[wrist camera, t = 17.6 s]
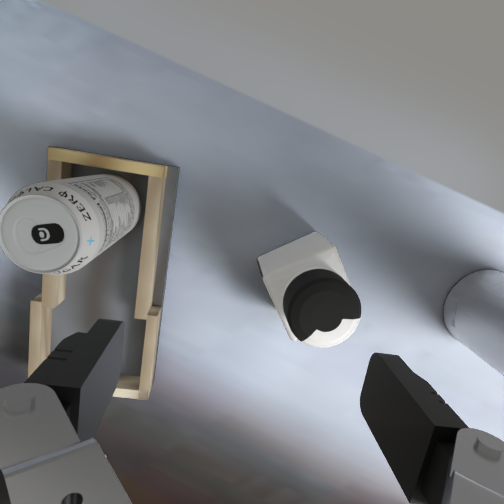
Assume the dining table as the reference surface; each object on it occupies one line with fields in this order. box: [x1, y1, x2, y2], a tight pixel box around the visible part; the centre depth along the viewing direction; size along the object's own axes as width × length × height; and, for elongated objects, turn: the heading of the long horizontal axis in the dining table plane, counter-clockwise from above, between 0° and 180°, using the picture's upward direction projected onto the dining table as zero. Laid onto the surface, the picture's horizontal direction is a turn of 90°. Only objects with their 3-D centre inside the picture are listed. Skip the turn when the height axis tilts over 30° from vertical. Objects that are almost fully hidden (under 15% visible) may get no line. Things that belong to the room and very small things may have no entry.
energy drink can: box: [0, 174, 142, 275], centre depth 30 cm, size 6×6×15 cm
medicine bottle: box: [257, 232, 361, 348], centre depth 35 cm, size 7×7×12 cm
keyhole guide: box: [28, 146, 179, 400], centre depth 38 cm, size 12×24×4 cm, turn 170°
